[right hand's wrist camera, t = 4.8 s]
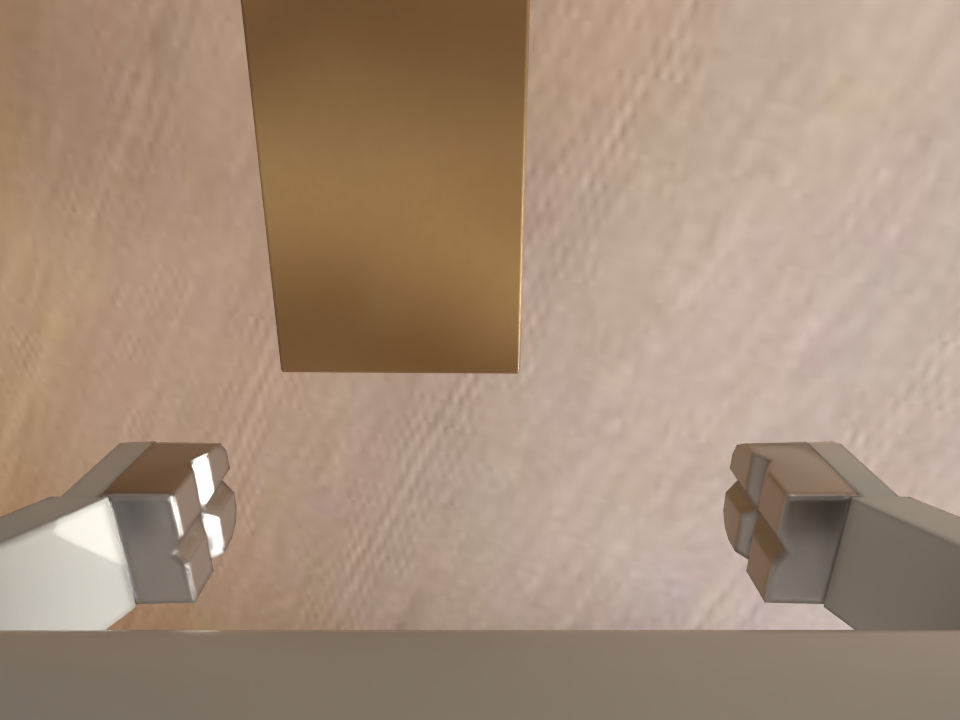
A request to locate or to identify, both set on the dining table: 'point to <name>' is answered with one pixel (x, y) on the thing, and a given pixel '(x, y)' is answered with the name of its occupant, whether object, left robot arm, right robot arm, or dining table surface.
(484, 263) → the box
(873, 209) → the dining table surface
